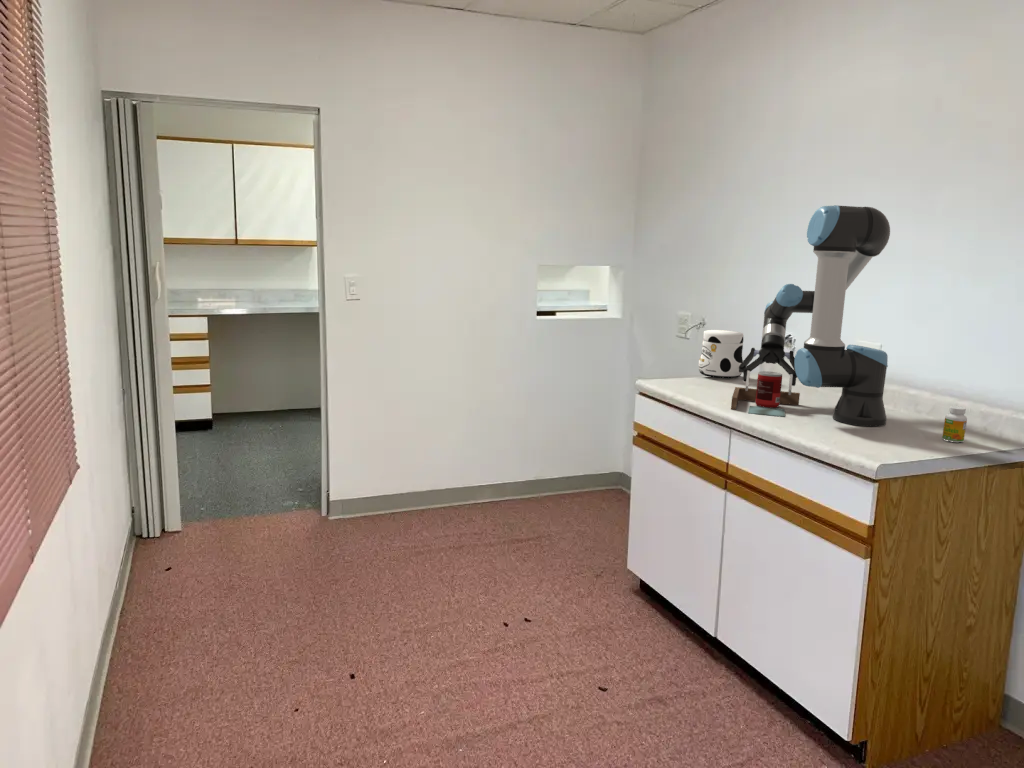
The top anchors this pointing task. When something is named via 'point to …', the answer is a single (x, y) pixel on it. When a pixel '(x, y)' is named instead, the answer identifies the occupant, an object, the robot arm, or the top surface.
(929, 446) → the top surface
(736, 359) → the milk container
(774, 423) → the top surface
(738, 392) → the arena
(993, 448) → the top surface
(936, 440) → the top surface
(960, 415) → the supplement bottle
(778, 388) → the canned food
